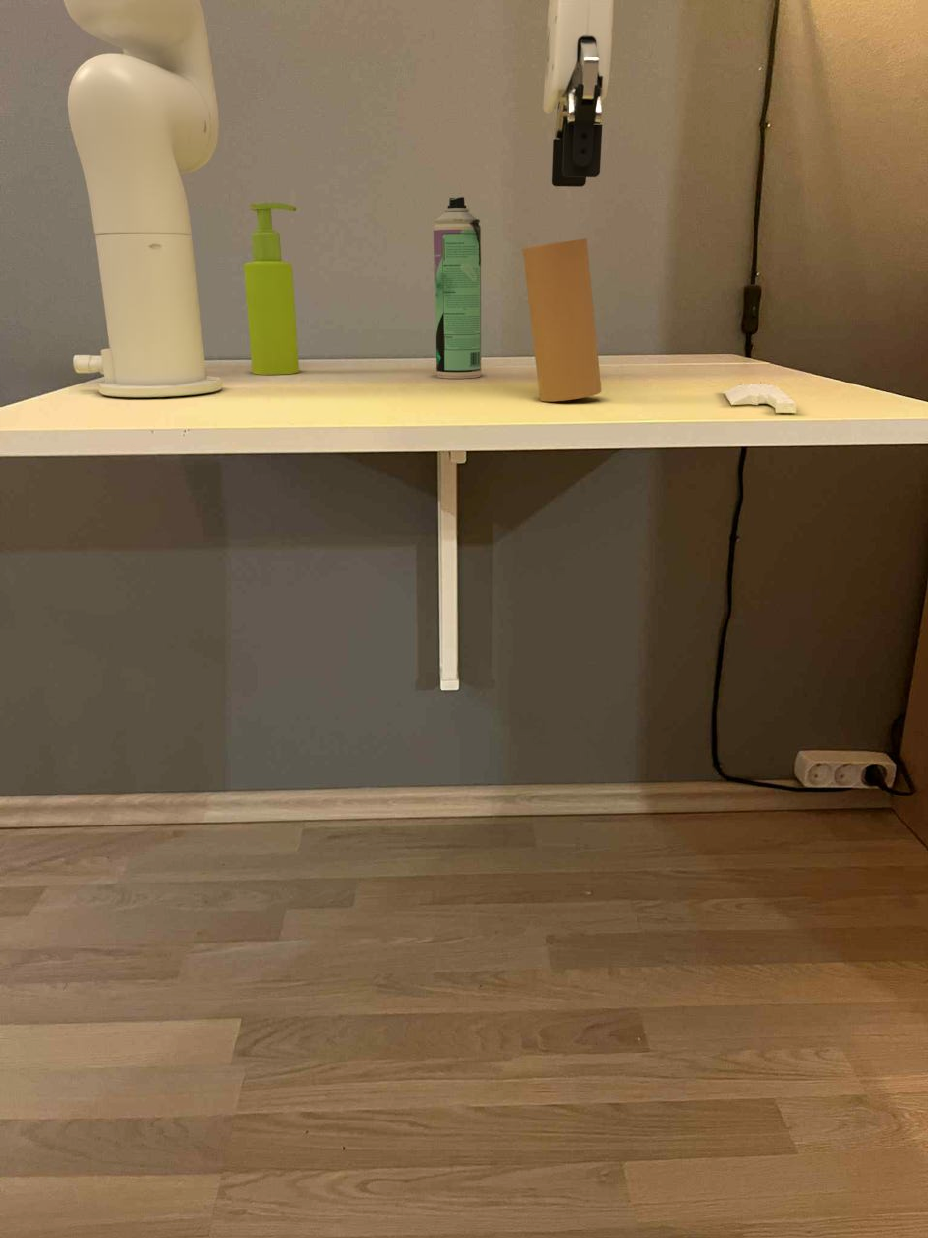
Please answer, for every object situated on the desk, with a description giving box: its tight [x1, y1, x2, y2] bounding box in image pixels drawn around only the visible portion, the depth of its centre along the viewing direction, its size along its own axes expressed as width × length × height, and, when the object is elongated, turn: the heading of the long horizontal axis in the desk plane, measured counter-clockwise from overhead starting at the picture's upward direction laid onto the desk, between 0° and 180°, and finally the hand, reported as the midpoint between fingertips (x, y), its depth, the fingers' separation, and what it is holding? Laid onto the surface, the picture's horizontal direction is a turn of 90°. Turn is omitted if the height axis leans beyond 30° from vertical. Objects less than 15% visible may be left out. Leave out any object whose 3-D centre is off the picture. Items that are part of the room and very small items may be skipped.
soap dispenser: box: [243, 202, 300, 376], centre depth 119 cm, size 6×7×20 cm
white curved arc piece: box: [723, 382, 797, 414], centre depth 89 cm, size 5×15×1 cm, turn 169°
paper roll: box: [521, 238, 602, 403], centre depth 90 cm, size 14×6×6 cm
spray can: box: [433, 196, 482, 380], centre depth 112 cm, size 6×6×20 cm
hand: (574, 181), depth 86 cm, fingers open, 9 cm apart
